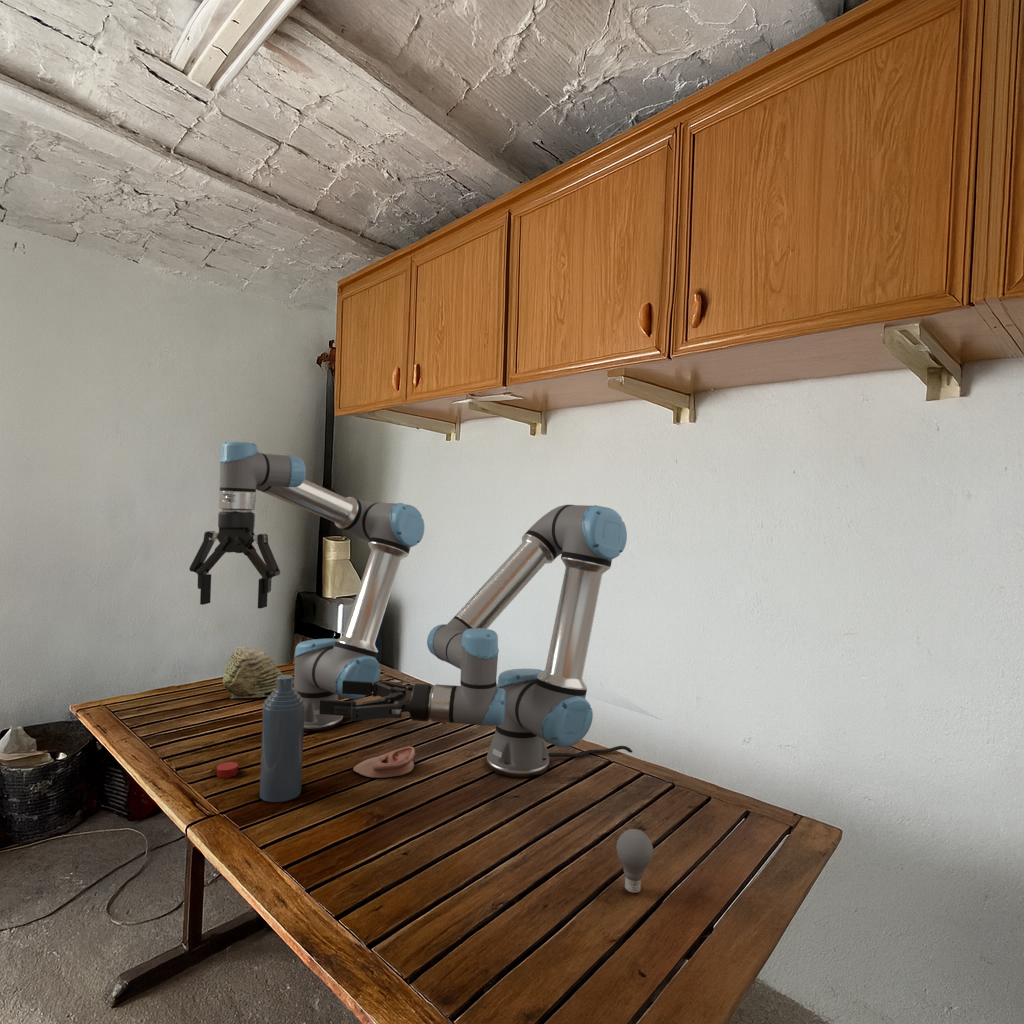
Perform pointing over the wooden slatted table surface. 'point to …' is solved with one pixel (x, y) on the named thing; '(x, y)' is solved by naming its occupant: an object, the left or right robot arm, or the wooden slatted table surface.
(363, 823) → the wooden slatted table surface
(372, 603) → the left robot arm
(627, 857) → the light bulb
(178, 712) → the wooden slatted table surface
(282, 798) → the bottle
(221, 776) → the cap
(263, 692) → the fossil
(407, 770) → the anatomical model
